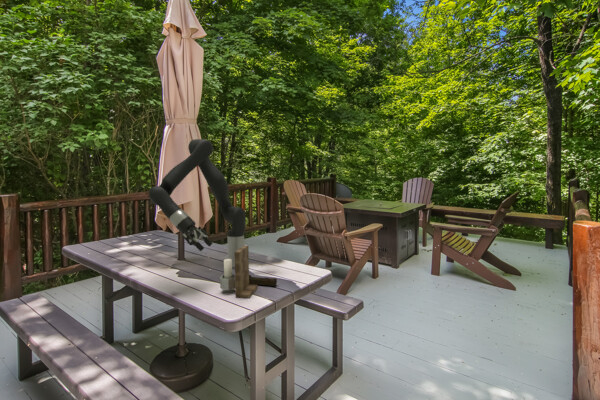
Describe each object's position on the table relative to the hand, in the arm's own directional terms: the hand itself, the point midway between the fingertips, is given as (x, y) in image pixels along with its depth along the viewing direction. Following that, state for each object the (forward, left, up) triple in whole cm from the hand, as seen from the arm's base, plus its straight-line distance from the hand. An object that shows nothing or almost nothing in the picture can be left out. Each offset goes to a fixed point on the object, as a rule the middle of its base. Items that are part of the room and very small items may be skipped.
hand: (206, 247), depth 153 cm
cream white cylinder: (0, +10, -17) cm, 20 cm away
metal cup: (0, +11, -18) cm, 21 cm away
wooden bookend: (0, +18, -20) cm, 27 cm away
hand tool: (-10, +20, -20) cm, 30 cm away
